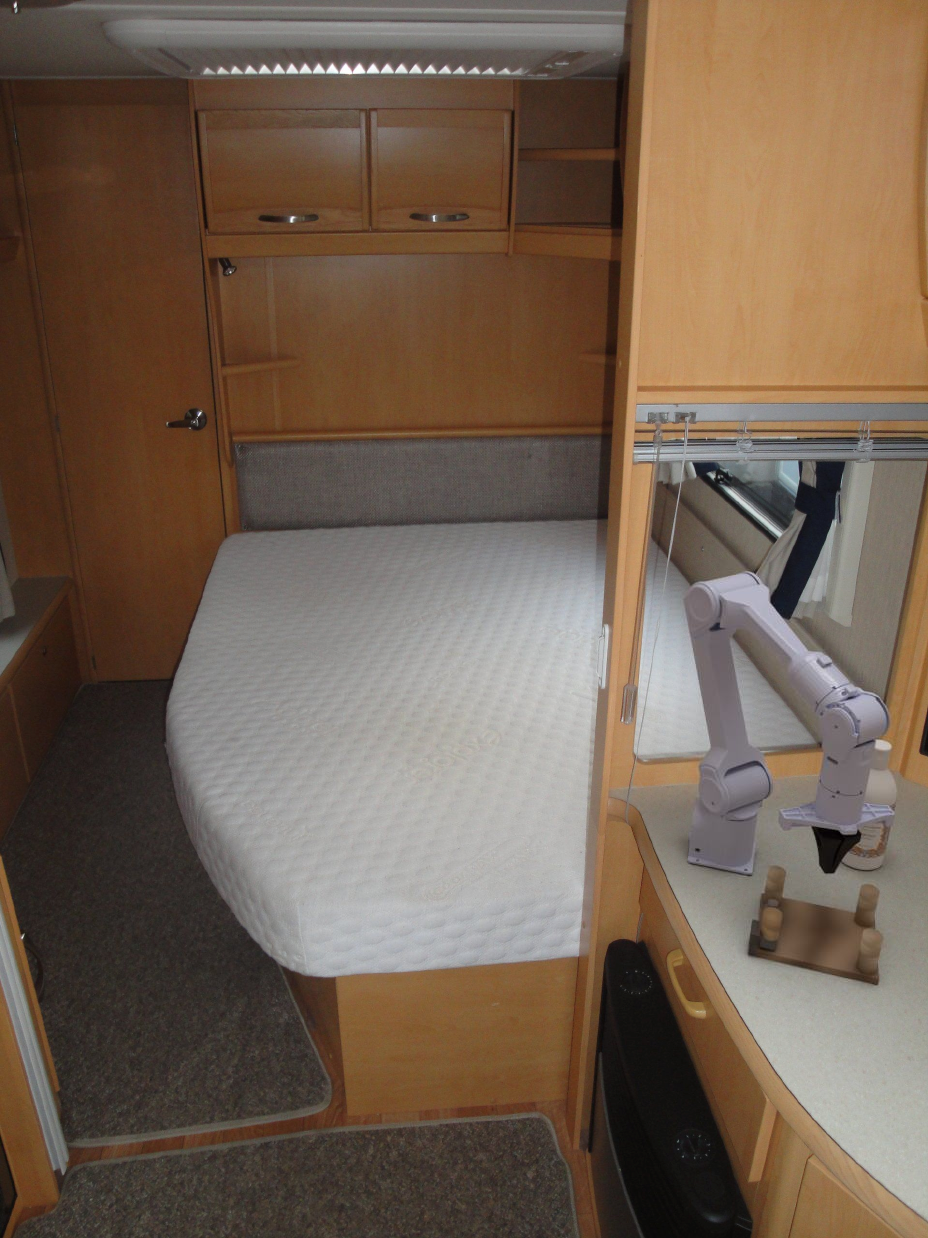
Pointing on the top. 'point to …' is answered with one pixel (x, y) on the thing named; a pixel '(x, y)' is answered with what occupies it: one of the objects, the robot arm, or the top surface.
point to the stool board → (822, 933)
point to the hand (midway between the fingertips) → (826, 869)
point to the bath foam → (877, 793)
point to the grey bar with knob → (770, 925)
